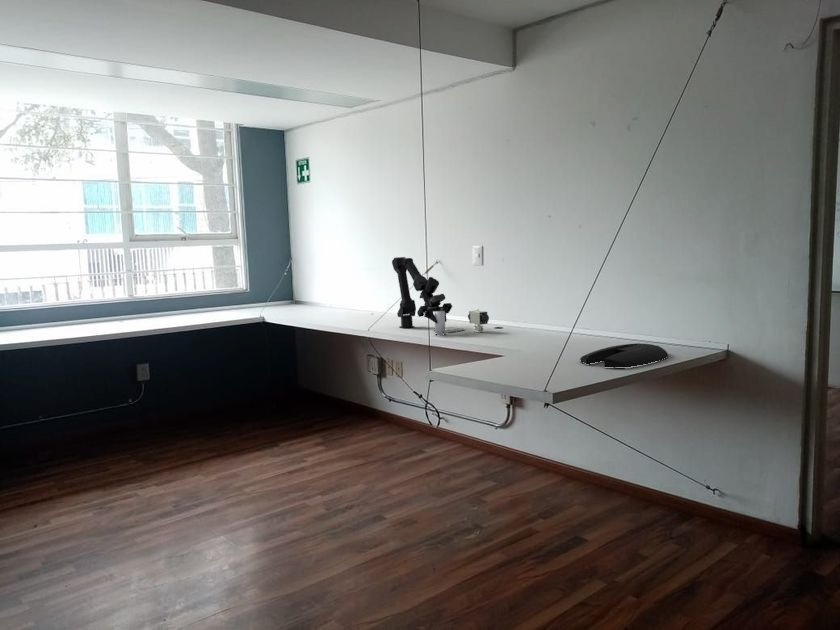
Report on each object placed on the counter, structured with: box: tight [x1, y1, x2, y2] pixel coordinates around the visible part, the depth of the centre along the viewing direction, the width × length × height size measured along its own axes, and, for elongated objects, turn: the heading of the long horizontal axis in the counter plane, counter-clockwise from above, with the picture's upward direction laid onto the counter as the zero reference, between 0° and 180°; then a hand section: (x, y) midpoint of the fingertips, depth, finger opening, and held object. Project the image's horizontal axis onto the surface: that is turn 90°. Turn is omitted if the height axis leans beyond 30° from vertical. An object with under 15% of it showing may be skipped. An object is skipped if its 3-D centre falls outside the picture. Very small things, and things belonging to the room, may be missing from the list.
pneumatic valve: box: [467, 308, 490, 333], centre depth 351 cm, size 6×12×12 cm, turn 35°
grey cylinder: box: [434, 311, 447, 336], centre depth 348 cm, size 6×6×12 cm
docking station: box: [579, 342, 669, 367], centre depth 271 cm, size 25×41×5 cm, turn 129°
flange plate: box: [433, 326, 466, 334], centre depth 360 cm, size 12×12×1 cm
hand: (441, 322), depth 347 cm, fingers closed on grey cylinder, 5 cm apart
